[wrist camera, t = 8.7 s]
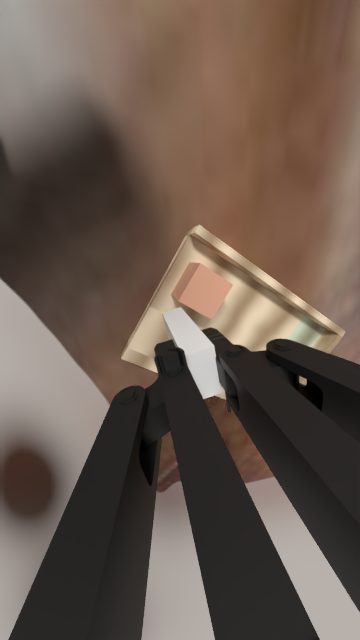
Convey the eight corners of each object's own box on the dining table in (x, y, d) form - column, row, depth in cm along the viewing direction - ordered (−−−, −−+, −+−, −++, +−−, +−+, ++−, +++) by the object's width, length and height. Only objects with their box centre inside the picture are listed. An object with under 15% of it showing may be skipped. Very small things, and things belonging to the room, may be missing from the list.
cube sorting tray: (122, 351, 31) (119, 367, 27) (188, 230, 28) (199, 224, 23) (259, 407, 41) (275, 426, 37) (320, 322, 38) (345, 331, 33)
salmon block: (171, 293, 28) (178, 300, 23) (189, 262, 27) (200, 263, 22) (199, 309, 29) (211, 319, 25) (217, 280, 29) (233, 284, 24)
